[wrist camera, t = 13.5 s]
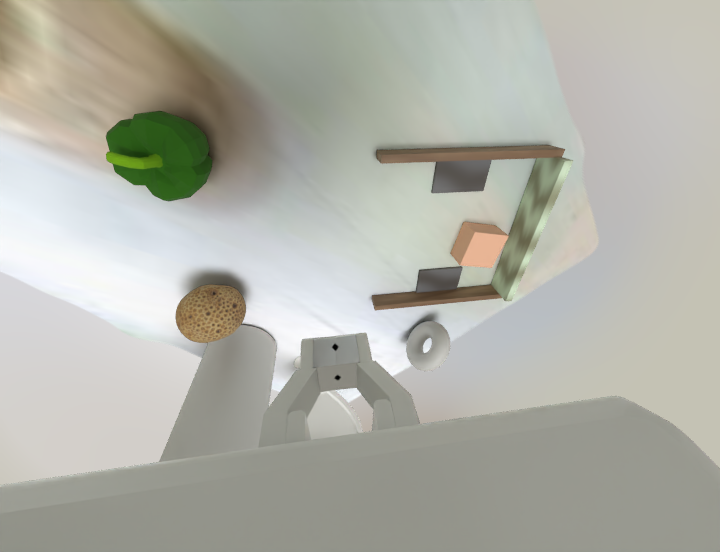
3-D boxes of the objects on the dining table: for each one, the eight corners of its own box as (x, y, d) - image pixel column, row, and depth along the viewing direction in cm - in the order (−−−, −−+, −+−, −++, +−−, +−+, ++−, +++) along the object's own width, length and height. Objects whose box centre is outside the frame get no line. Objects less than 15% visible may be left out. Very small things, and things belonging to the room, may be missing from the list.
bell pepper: (235, 141, 32) (208, 159, 24) (206, 194, 35) (174, 226, 27) (159, 86, 28) (96, 86, 20) (134, 151, 31) (71, 173, 23)
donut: (408, 343, 59) (423, 383, 51) (397, 338, 58) (411, 378, 50) (441, 315, 55) (462, 354, 47) (430, 308, 54) (450, 348, 46)
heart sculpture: (356, 369, 62) (369, 455, 48) (345, 381, 64) (353, 466, 50) (296, 351, 56) (290, 444, 41) (285, 364, 58) (276, 458, 43)
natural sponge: (222, 258, 41) (199, 300, 33) (263, 294, 46) (252, 338, 38) (180, 286, 43) (149, 332, 35) (223, 317, 48) (205, 364, 40)
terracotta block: (463, 221, 43) (475, 232, 40) (495, 225, 45) (509, 235, 41) (450, 252, 47) (459, 265, 43) (479, 255, 48) (491, 267, 45)
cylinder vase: (282, 328, 51) (261, 484, 31) (271, 367, 58) (248, 518, 38) (211, 318, 47) (134, 489, 27) (208, 361, 54) (145, 526, 34)
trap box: (376, 150, 35) (384, 158, 31) (549, 145, 38) (577, 152, 34) (371, 299, 50) (376, 318, 46) (495, 288, 53) (509, 304, 49)
